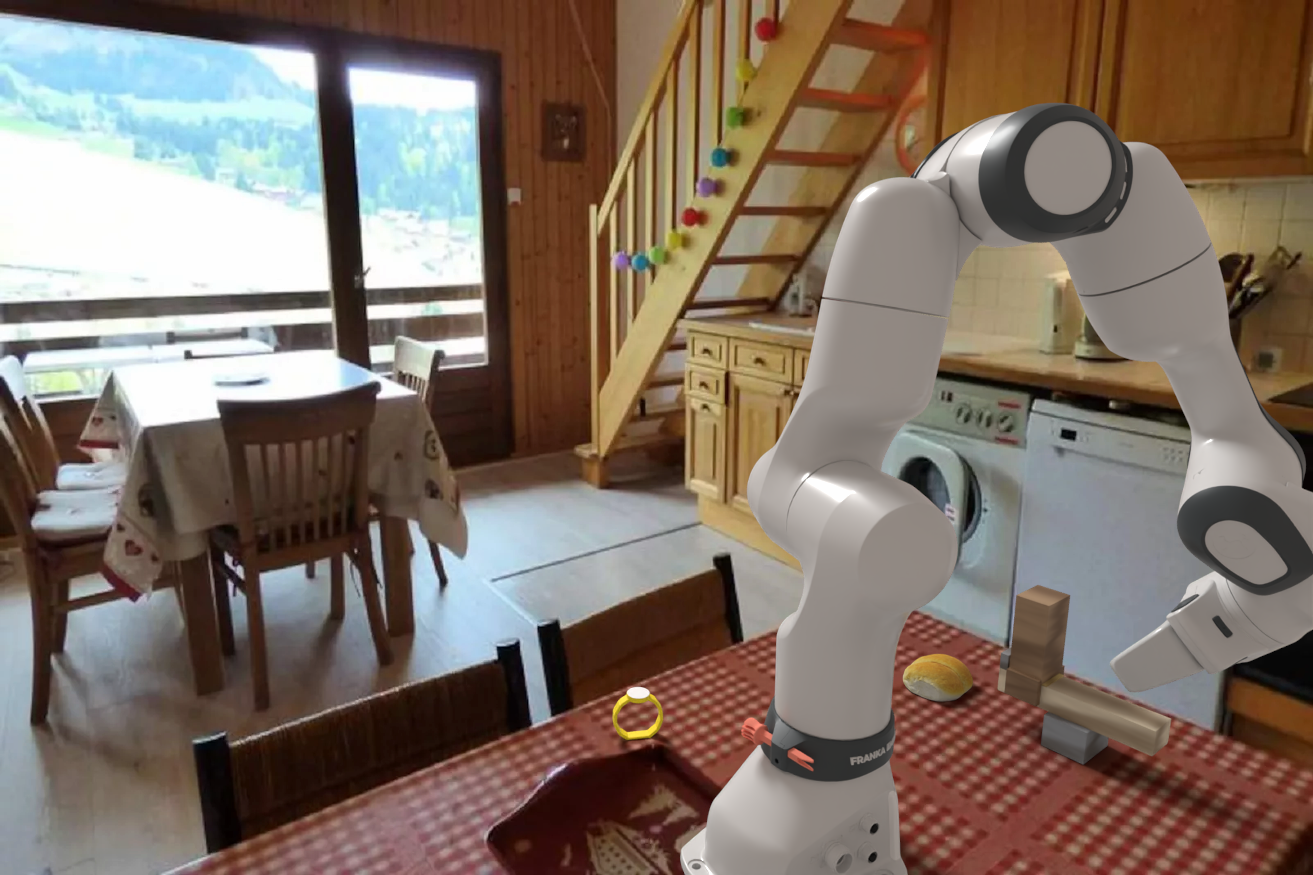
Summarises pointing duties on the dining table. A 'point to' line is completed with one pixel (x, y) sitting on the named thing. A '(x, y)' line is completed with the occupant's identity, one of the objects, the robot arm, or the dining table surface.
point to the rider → (1036, 642)
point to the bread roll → (938, 677)
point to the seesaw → (1091, 719)
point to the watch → (637, 697)
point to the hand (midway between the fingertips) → (1121, 666)
